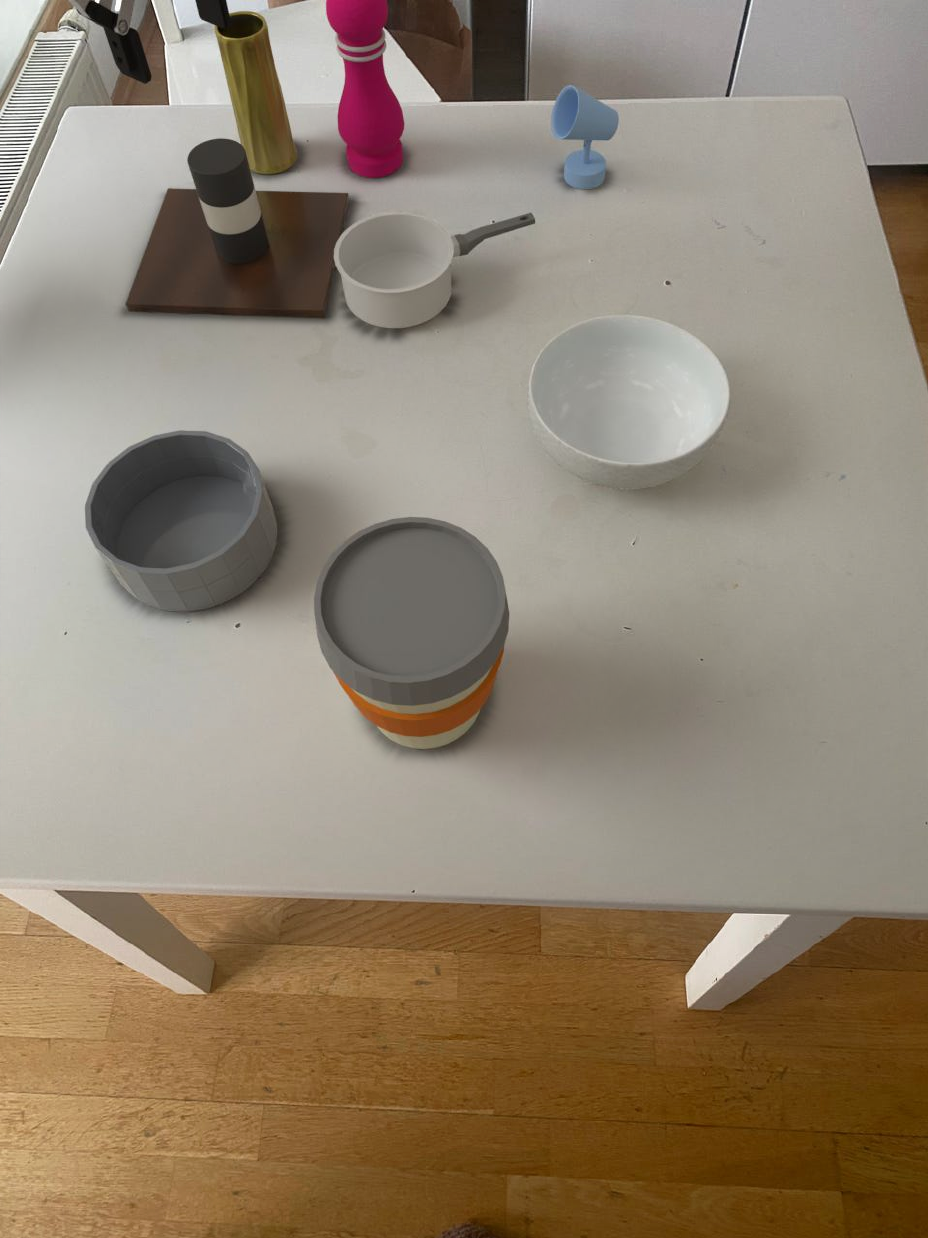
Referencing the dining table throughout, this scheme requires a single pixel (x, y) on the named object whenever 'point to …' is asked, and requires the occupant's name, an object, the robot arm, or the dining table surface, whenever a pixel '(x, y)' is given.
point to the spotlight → (583, 134)
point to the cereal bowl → (627, 400)
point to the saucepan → (404, 265)
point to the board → (269, 286)
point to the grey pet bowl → (182, 520)
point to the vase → (256, 93)
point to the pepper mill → (366, 88)
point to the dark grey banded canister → (228, 200)
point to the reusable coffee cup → (413, 627)
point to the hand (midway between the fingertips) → (177, 49)
